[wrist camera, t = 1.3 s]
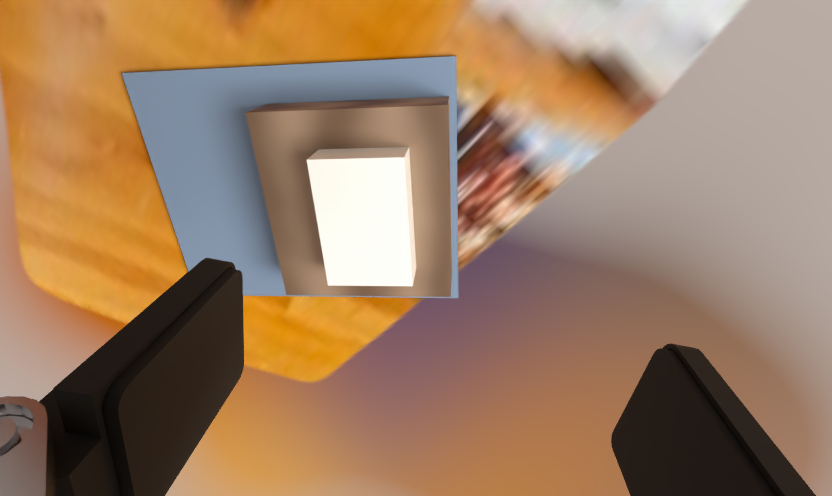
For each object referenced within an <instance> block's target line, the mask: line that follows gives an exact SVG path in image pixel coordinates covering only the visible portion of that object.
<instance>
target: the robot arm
mask: <svg viewBox="0 0 832 496" xmlns="http://www.w3.org/2000/svg"><path fill="white" fill-rule="evenodd" d="M243 367H244V334H243V277H242V272H241V271H240V270H236V268H235V265H234V263H232V262H228V261H222V260H217V259H212V258H205V259H203V260H202V261H200V262H199V263H198V264H197V265H196V266H195V267H193V268H192V269H191V270H190V271H189V272H188V273H186V274H185V275H184V276H183V277H182V278H181V279H180V280H178V281H177V282H176V283H175V284H174V285H173V286H171V287H170V288H169V289H168V290H167V291H166V292H164V293H163V294H162V295H161V296H160V297H159V298H157V299H156V300H155V301H154V302H153V303H152V304H151V305H149V306H148V307H147V308H146V309H145V310H144V311H142V312H141V313H140V314H139V315H138V316H137V317H135V318H134V319H133V320H132V321H131V322H130V323H128V324H127V325H126V326H125V327H124V328H123V329H122V330H120V331H119V332H118V333H117V334H116V335H115V336H114V337H112V338H111V339H110V340H109V341H108V342H107V343H105V344H104V345H103V346H102V347H101V348H99V349H98V350H97V351H96V352H95V353H94V354H93V355H91V356H90V357H89V358H88V359H87V360H86V361H84V362H83V363H82V364H81V365H80V366H79V367H77V368H76V369H75V370H74V371H73V372H72V373H70V374H69V375H68V376H67V377H66V378H65V379H64V380H63V381H61V382H60V383H59V384H58V385H57V386H55V387H54V388H53V390H52V391H51V392H50V393H49V394H48V395H46V396H45V397H44V398H43V399H42V400H40V401H39V402H38V401H37V400H34V399H30V398H27V397H9V396H8V397H1V398H0V496H165V495H166V493H167V491H168V490H169V488H170V487H171V485H172V484H173V482H174V480H175V479H176V477H177V476H178V474H179V473H180V471H181V470H182V468H183V466H184V465H185V463H186V462H187V460H188V459H189V457H190V455H191V454H192V452H193V451H194V449H195V448H196V446H197V445H198V443H199V441H200V440H201V438H202V437H203V435H204V434H205V432H206V430H207V429H208V427H209V426H210V424H211V423H212V421H213V419H214V418H215V416H216V415H217V413H218V412H219V409H221V407H222V405H223V404H224V402H225V401H226V399H227V398H228V396H229V394H230V393H231V391H232V390H233V388H234V387H235V385H236V383H237V382H238V380H239V379H240V377H241V374H242V371H243ZM611 443H612V448H613V451H614V454H615V456H616V459H617V462H618V464H619V467H620V469H621V472H622V474H623V477H624V480H625V482H626V485H627V488H628V490H629V493H630V495H631V496H816V495H815V494H814V493H813V491H812V490H811V489H810V488H809V487H808V485H807V484H806V483H805V481H804V480H803V479H802V478H801V476H800V475H799V474H798V473H797V472H796V470H795V469H794V468H793V466H792V465H791V464H790V463H789V461H788V460H787V459H786V458H785V457H784V455H783V454H782V452H781V451H780V450H779V449H778V447H776V445H775V444H774V443H773V441H772V440H771V439H770V438H769V436H768V435H767V434H766V433H765V431H764V430H763V429H762V427H761V426H760V425H759V424H758V422H757V421H756V420H755V419H754V417H753V416H752V415H751V414H750V412H749V411H748V410H747V408H746V407H745V406H744V405H743V403H742V402H741V401H740V400H739V398H738V397H737V396H736V395H735V393H734V392H733V391H732V390H731V389H730V387H729V386H728V385H727V383H726V382H725V381H724V380H723V378H722V377H721V376H720V375H719V373H718V372H717V371H716V370H715V368H714V367H713V366H712V365H711V363H710V362H709V361H708V359H707V358H706V357H705V356H704V354H703V353H702V352H701V351H700V350H699V349H696V348H692V347H686V346H681V345H676V344H667V345H666V346H664V347H663V348H662V349H657V350H656V351H655V353H654V354H653V356H652V358H651V360H650V362H649V364H648V366H647V367H646V369H645V371H644V373H643V375H642V377H641V379H640V381H639V383H638V385H637V387H636V389H635V390H634V392H633V394H632V396H631V398H630V400H629V402H628V404H627V406H626V408H625V410H624V412H623V414H622V416H621V417H620V419H619V421H618V423H617V425H616V427H615V429H614V431H613V433H612V441H611Z"/></svg>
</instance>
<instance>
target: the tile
mask: <svg viewBox="0 0 832 496" xmlns="http://www.w3.org/2000/svg"><path fill="white" fill-rule="evenodd" d="M307 165H308V171H309V177H310V183H311V189H312V195H313V201H314V206H315V212H316V218H317V224H318V230H319V236H320V242H321V247H322V253H323V259H324V265H325V271H326V277H327V283H328V286H413V282H414V277H415V272H416V255H415V238H414V221H413V204H412V188H411V171H410V154H409V147H385V148H349V149H319V150H317V151H316V152H315V153H314V154H313V155H312V156H310V157H309V158H308V159H307Z"/></svg>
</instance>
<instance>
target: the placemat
mask: <svg viewBox="0 0 832 496" xmlns="http://www.w3.org/2000/svg"><path fill="white" fill-rule="evenodd" d="M122 76H123V79H124V82H125V85H126V88H127V91H128V94H129V97H130V100H131V103H132V106H133V109H134V112H135V115H136V118H137V120H138V123H139V126H140V129H141V132H142V135H143V138H144V141H145V144H146V147H147V150H148V153H149V156H150V159H151V162H152V165H153V168H154V171H155V174H156V177H157V180H158V183H159V186H160V189H161V192H162V194H163V197H164V200H165V203H166V206H167V209H168V212H169V215H170V218H171V221H172V224H173V227H174V230H175V233H176V236H177V239H178V242H179V245H180V248H181V251H182V254H183V257H184V260H185V263H186V266H187V268H188V271H190V270H191V269H192V268H193V267H195V266H196V265H197V264H198V263H199V262H200V261H202V260H203V259H205V258H212V259H217V260H222V261H228V262H232V263H234V265H235V268H236V270H240V271H241V272H242V277H243V295H249V296H329V295H286V291H285V287H284V282H283V278H282V273H281V269H280V265H279V260H278V256H277V251H276V247H275V242H274V238H273V233H272V229H271V225H270V220H269V216H268V211H267V207H266V202H265V198H264V193H263V189H262V185H261V180H260V176H259V171H258V167H257V162H256V158H255V153H254V149H253V145H252V140H251V136H250V131H249V127H248V122H247V118H246V112H248V111H251V110H253V109H256V108H258V107H261V106H263V105H266V104H274V103H299V102H324V101H348V100H373V99H398V98H423V97H447V96H449V121H450V182H451V243H452V282H451V297H411V296H330V297H411V298H458V205H457V93H456V56H443V57H423V58H404V59H384V60H365V61H345V62H325V63H306V64H286V65H266V66H247V67H227V68H208V69H188V70H168V71H149V72H129V73H122Z"/></svg>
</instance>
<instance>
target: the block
mask: <svg viewBox="0 0 832 496" xmlns="http://www.w3.org/2000/svg"><path fill="white" fill-rule="evenodd" d="M246 118H247V122H248V127H249V131H250V136H251V140H252V145H253V149H254V153H255V158H256V162H257V167H258V171H259V176H260V180H261V185H262V189H263V193H264V198H265V202H266V207H267V211H268V216H269V220H270V225H271V229H272V233H273V238H274V242H275V247H276V251H277V256H278V260H279V265H280V269H281V273H282V278H283V282H284V287H285V291H286V295H329V296H411V297H451V282H452V243H451V182H450V121H449V96H447V97H423V98H398V99H373V100H348V101H324V102H299V103H274V104H266V105H263V106H261V107H258V108H256V109H253V110H251V111H248V112H246ZM385 147H409V154H410V171H411V188H412V204H413V221H414V238H415V255H416V272H415V277H414V282H413V286H328V283H327V277H326V271H325V265H324V259H323V253H322V247H321V242H320V236H319V230H318V224H317V218H316V212H315V206H314V201H313V195H312V189H311V183H310V177H309V171H308V165H307V159H308V158H309V157H310V156H312V155H313V154H314V153H315V152H316V151H317V150H319V149H349V148H385Z"/></svg>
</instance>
